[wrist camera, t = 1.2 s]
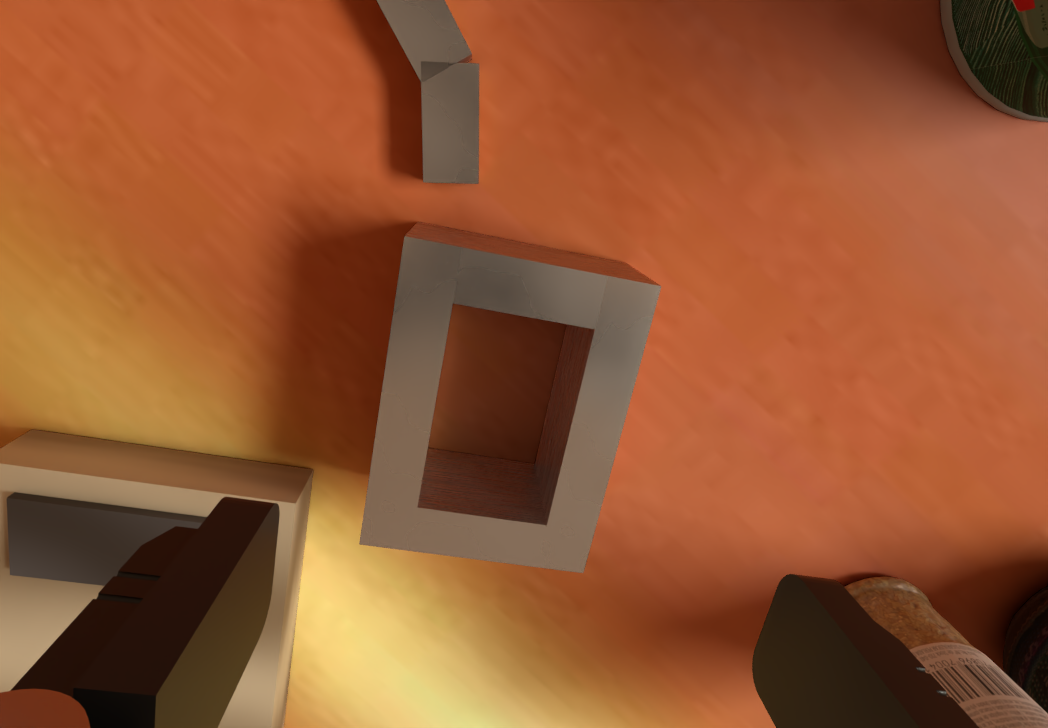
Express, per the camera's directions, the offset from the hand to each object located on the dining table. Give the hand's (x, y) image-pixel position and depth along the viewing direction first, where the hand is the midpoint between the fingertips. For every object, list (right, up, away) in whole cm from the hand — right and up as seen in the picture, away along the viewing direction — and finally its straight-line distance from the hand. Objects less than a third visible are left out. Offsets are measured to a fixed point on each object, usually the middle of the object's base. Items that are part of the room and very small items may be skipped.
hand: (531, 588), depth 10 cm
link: (-1, +3, +9) cm, 10 cm away
